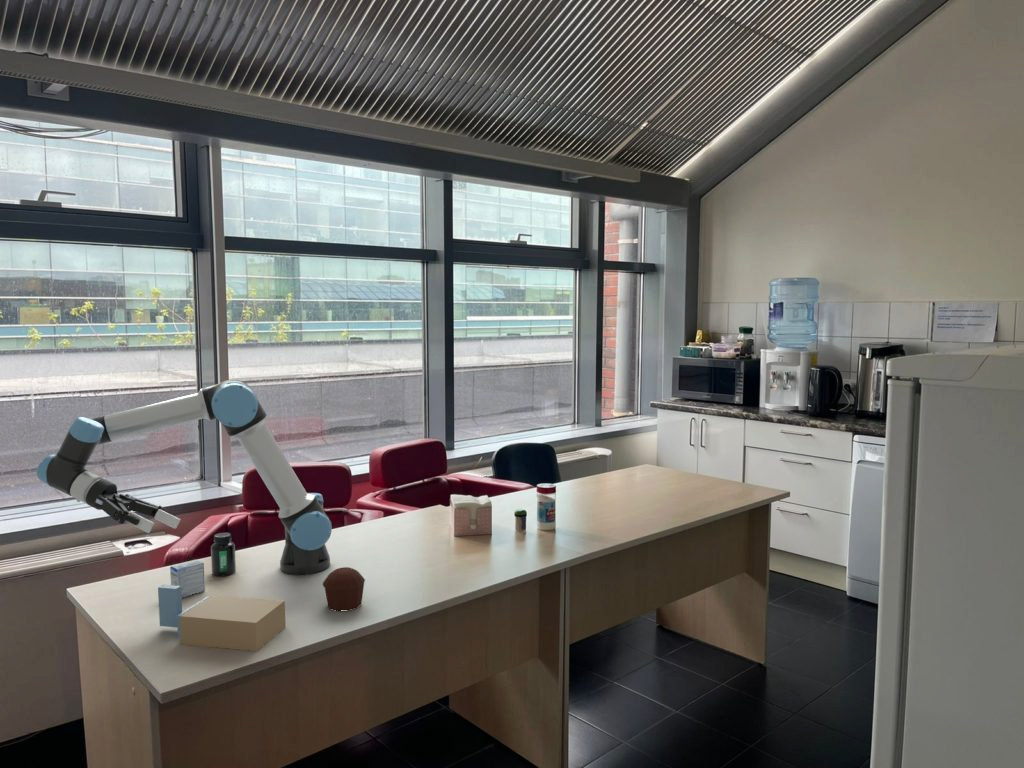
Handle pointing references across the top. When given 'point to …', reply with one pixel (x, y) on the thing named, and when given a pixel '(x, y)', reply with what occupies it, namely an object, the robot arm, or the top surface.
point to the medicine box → (188, 577)
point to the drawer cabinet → (233, 622)
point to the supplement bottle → (223, 555)
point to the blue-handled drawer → (172, 606)
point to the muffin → (344, 589)
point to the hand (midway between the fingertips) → (165, 526)
